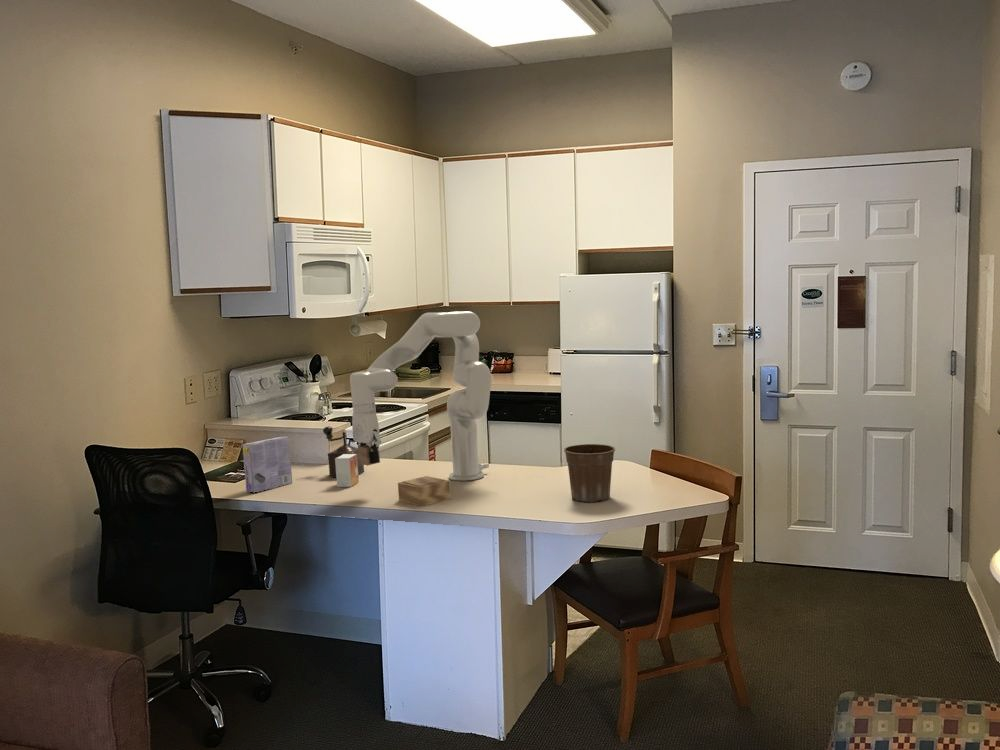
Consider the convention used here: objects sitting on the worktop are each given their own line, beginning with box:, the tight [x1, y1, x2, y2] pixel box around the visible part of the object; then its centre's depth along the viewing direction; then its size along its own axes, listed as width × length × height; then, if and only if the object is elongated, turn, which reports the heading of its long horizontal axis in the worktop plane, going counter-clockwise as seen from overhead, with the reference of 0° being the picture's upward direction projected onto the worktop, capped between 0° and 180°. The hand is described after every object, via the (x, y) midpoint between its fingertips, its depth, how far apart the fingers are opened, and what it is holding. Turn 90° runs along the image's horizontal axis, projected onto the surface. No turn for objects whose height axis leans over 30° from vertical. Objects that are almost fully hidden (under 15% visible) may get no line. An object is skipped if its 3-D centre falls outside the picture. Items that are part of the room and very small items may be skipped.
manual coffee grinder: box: [322, 426, 365, 478], centre depth 345 cm, size 16×11×18 cm
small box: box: [335, 454, 360, 488], centre depth 327 cm, size 8×6×10 cm
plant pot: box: [563, 443, 616, 503], centre depth 290 cm, size 16×16×16 cm
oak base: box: [397, 475, 451, 507], centre depth 299 cm, size 12×12×6 cm
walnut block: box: [357, 443, 381, 466], centre depth 308 cm, size 5×5×6 cm
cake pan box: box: [242, 436, 293, 494], centre depth 328 cm, size 19×5×18 cm, turn 145°
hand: (369, 460), depth 308 cm, fingers closed on walnut block, 5 cm apart
